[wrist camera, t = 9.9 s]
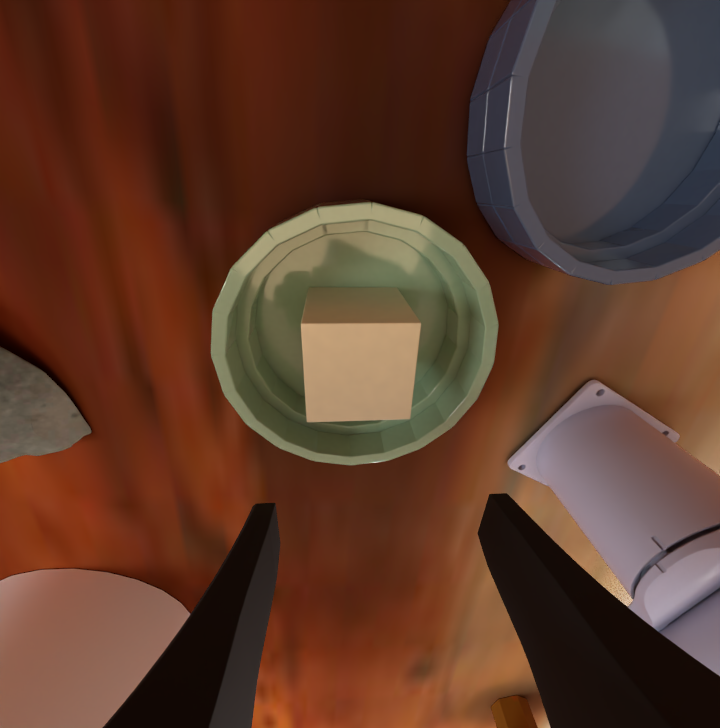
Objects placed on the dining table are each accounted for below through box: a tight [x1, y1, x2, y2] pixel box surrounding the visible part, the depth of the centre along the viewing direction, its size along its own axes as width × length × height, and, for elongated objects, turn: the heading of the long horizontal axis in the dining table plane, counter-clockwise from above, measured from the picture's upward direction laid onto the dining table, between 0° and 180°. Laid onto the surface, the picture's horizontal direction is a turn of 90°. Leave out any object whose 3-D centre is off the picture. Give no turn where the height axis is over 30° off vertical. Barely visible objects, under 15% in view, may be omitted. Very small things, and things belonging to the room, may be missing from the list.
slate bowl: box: [467, 0, 720, 285], centre depth 13 cm, size 12×12×4 cm
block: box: [301, 287, 421, 422], centre depth 15 cm, size 4×4×5 cm
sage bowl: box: [211, 199, 499, 465], centre depth 16 cm, size 12×12×4 cm
